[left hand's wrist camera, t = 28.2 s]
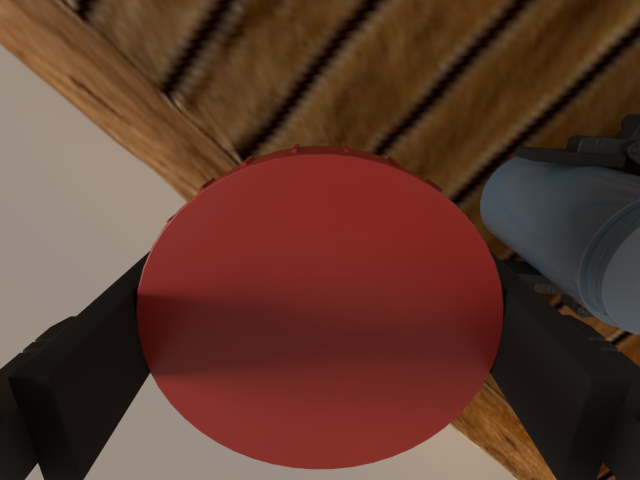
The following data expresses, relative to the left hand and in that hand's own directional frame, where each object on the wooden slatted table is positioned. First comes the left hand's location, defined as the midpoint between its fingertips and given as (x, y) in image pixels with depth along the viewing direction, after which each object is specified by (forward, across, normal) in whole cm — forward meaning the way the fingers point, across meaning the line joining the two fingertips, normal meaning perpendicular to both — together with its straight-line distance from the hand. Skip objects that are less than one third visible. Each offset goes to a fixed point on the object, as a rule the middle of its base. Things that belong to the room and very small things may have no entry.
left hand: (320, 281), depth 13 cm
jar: (+22, +20, -3) cm, 30 cm away
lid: (-3, 0, 0) cm, 3 cm away
